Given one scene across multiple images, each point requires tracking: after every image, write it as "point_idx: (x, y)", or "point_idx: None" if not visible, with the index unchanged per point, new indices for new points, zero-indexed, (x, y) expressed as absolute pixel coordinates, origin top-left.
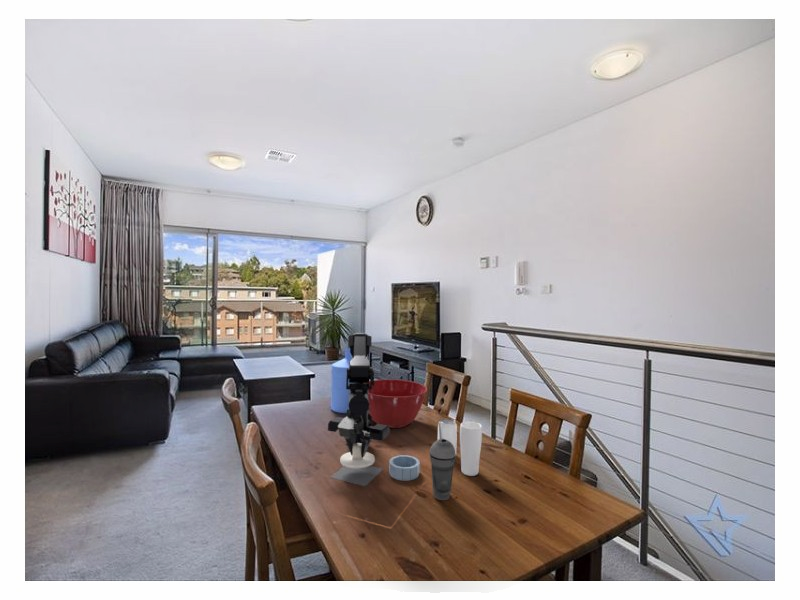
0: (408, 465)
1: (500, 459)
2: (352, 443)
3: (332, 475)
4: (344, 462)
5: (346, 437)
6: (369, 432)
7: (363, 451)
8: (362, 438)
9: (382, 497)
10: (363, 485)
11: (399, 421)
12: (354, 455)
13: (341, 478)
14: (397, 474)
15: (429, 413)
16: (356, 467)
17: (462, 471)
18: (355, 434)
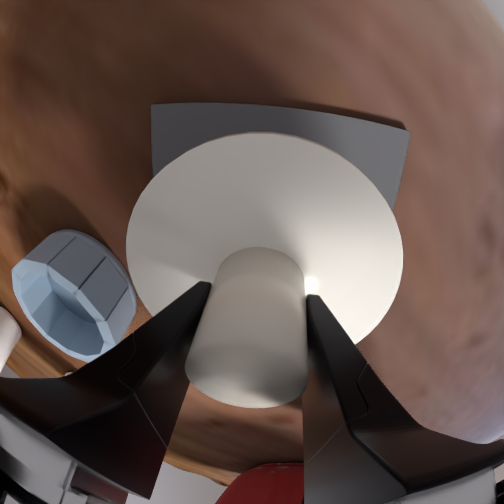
0: (92, 328)
1: (24, 367)
2: (317, 392)
3: (403, 157)
4: (340, 173)
5: (402, 447)
6: (10, 477)
7: (164, 312)
8: (11, 413)
9: (57, 74)
10: (163, 104)
11: (256, 479)
12: (268, 274)
13: (336, 134)
14: (57, 243)
15: None
16: (200, 145)
17: (7, 316)
18: (306, 480)
